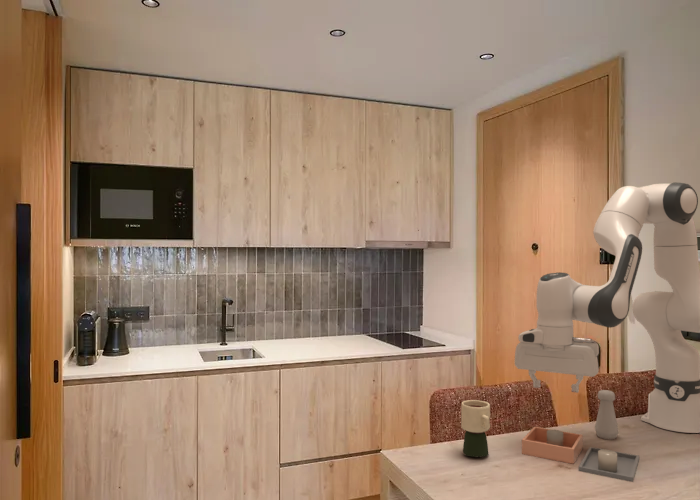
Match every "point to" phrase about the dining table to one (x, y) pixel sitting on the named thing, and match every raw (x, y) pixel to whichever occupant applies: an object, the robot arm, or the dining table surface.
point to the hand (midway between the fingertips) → (555, 389)
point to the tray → (624, 465)
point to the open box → (552, 446)
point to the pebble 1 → (555, 437)
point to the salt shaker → (606, 416)
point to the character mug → (475, 427)
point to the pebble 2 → (607, 461)
